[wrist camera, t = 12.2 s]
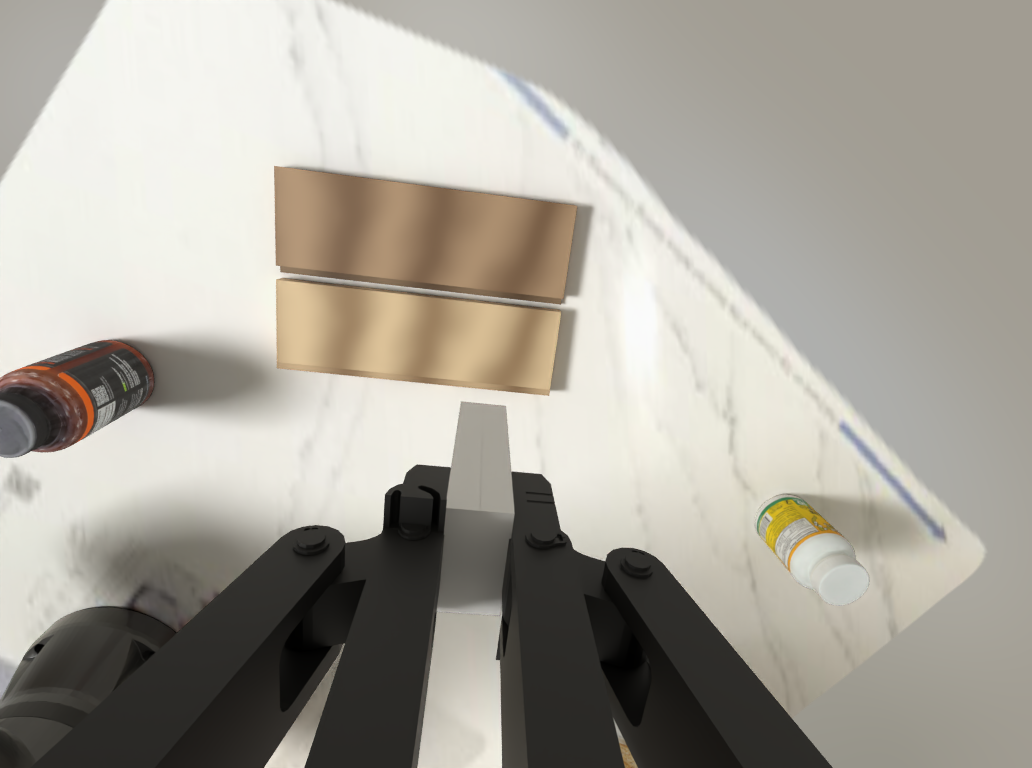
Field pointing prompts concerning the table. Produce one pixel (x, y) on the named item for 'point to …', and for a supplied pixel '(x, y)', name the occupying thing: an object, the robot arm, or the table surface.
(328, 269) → the laid board
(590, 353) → the table surface
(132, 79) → the table surface
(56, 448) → the supplement bottle
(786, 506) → the supplement bottle
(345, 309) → the plank
